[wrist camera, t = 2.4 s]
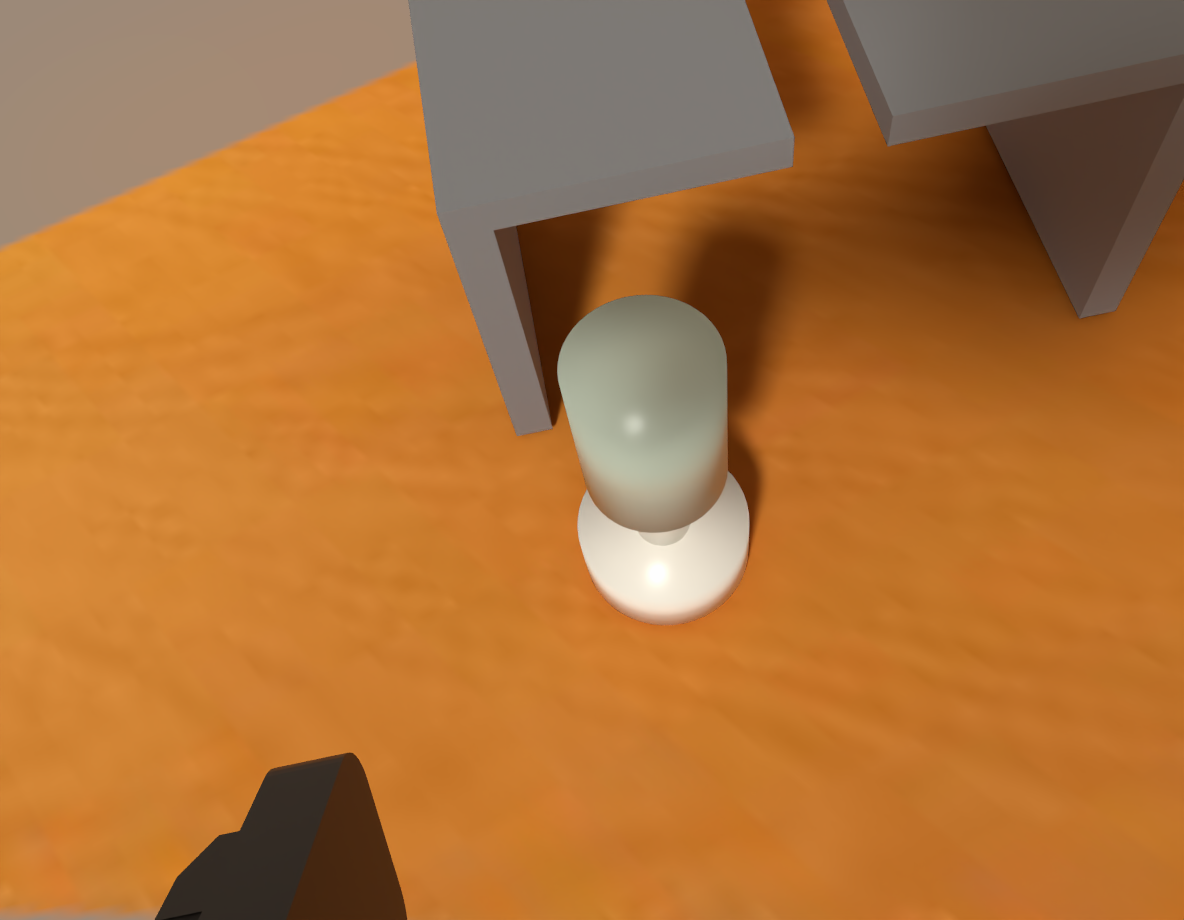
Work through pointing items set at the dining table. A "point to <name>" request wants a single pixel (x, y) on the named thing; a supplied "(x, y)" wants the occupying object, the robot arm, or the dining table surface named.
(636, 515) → the wine glass
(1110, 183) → the slotted rack
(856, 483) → the dining table surface
